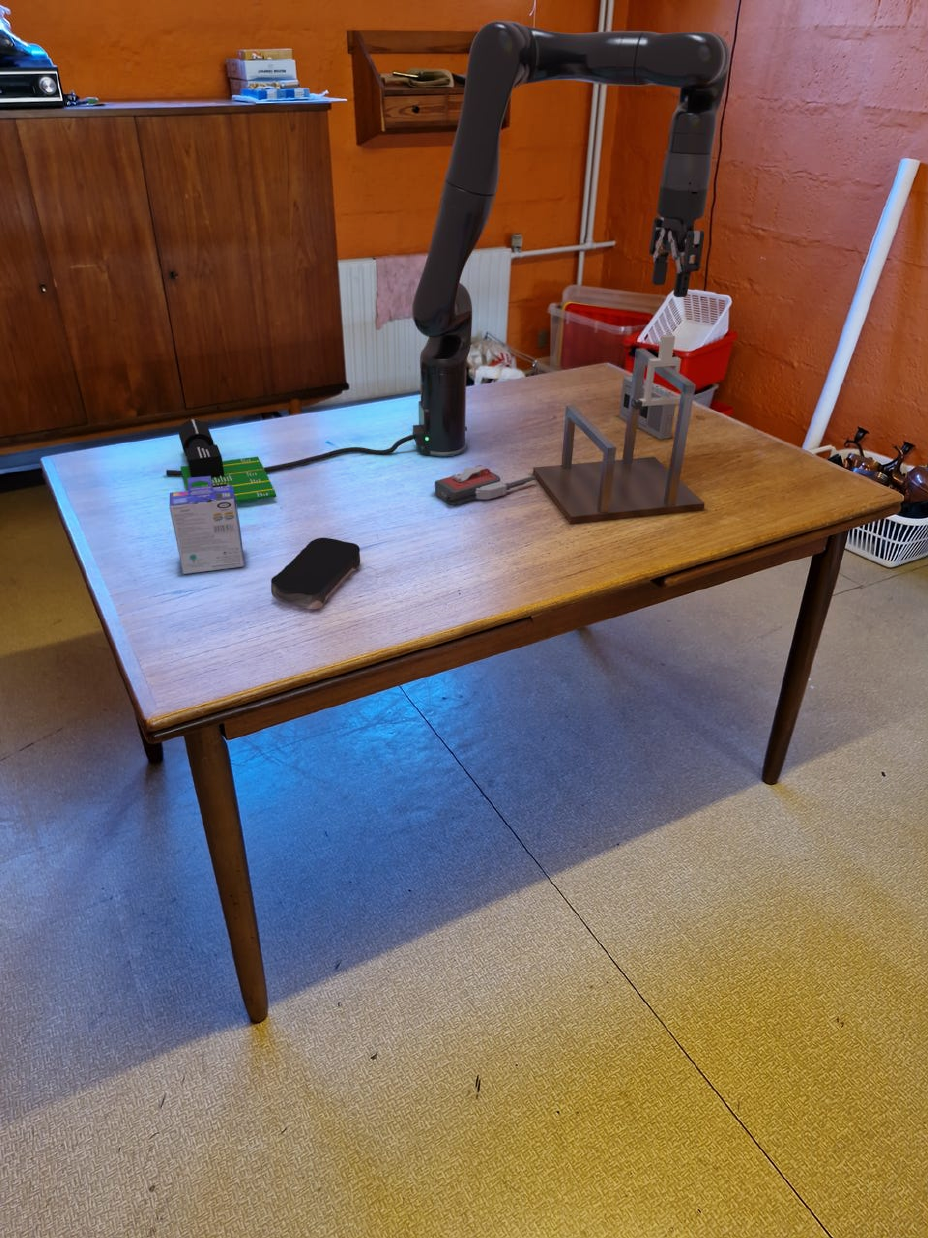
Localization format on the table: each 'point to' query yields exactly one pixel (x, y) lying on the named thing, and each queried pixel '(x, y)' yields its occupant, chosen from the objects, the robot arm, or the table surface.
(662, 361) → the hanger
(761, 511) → the table surface
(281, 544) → the table surface
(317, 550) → the black sponge
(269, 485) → the electronic board model
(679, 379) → the rack
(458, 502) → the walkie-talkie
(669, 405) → the cassette player
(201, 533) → the ink cartridge box
